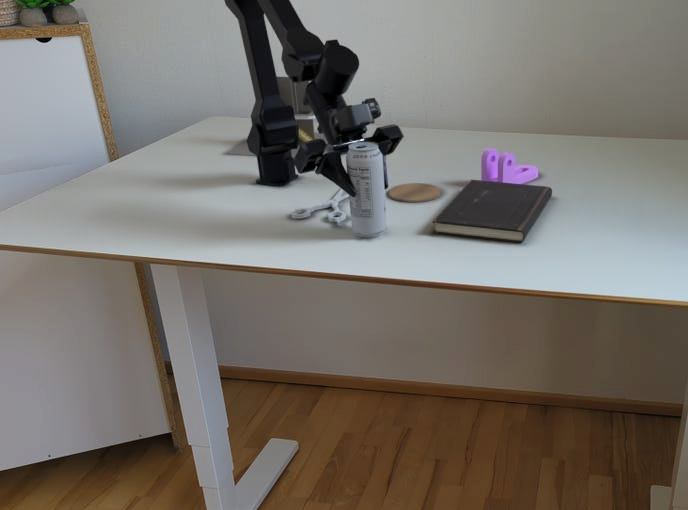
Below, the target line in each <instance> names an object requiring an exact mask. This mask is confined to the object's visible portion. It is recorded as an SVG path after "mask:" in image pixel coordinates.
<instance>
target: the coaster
mask: <svg viewBox="0 0 688 510" xmlns="http://www.w3.org/2000/svg"><path fill="white" fill-rule="evenodd" d="M388 196H389V197H390V198H391V199H392V200H395V201H398V202H403V203H424V202H430V201H432V200H436V199H437V198H438V197H440V196H441V189H440V188H439V187H438V186H435V185H433V184H428V183H422V182H421V183H420V182H413V183H411V182H410V183H403V184H399V185H396V186H394V187H392V188H390V190H389V191H388Z"/></svg>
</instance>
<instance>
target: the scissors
mask: <svg viewBox="0 0 688 510" xmlns="http://www.w3.org/2000/svg"><path fill="white" fill-rule="evenodd" d="M343 193H344V190H343V189H341V188H340V189H339V190H338V191H337V193H336V194H335V195H334V197H333V198H332V199H329V200H327V201H326V202H323V203H320V204H317V205H313V206H311V207H302V208H297V209H294V210H292V211H291V212H290V213H291V218H292V219H297V220H298V219H305V218H308V217H310V216H312V213H313V212H314V211H317V210H322V209H326V208H332V209H333V211H331V212H328V213H327V219H328V221H330V222H335V223H336V224H337V226H338V227H341V226H342V221H344V220H346V218H347V214H346V212H344V211H342V210H340V207H339V203H340V202H342V201H343V200H345V199H347V198H349V194H348V193H346V194H344V195H343ZM336 216H337V217H336Z"/></svg>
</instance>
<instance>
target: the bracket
mask: <svg viewBox="0 0 688 510" xmlns="http://www.w3.org/2000/svg"><path fill="white" fill-rule="evenodd" d="M499 153H500V152H499V151H498V150H497V149H494V148H491V147H488V148H485V150H483V152H482V154H481V165H480V169H481V170H480V171H481V173H480V174H481V175H480V176H481V178H480V180H481V181H492V182H503V183H514V184H525V183H528V182H530V181H532V180H536V179H537V178H538V177H539V168H538V167H537V166H535V165H529V164H519V165H516V163H517V162H516V161H517V160H516V156H515V155H514V154H513V153H512V152H511V153H510V152H506V151H504V152H502V153H501V154H499Z"/></svg>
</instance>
